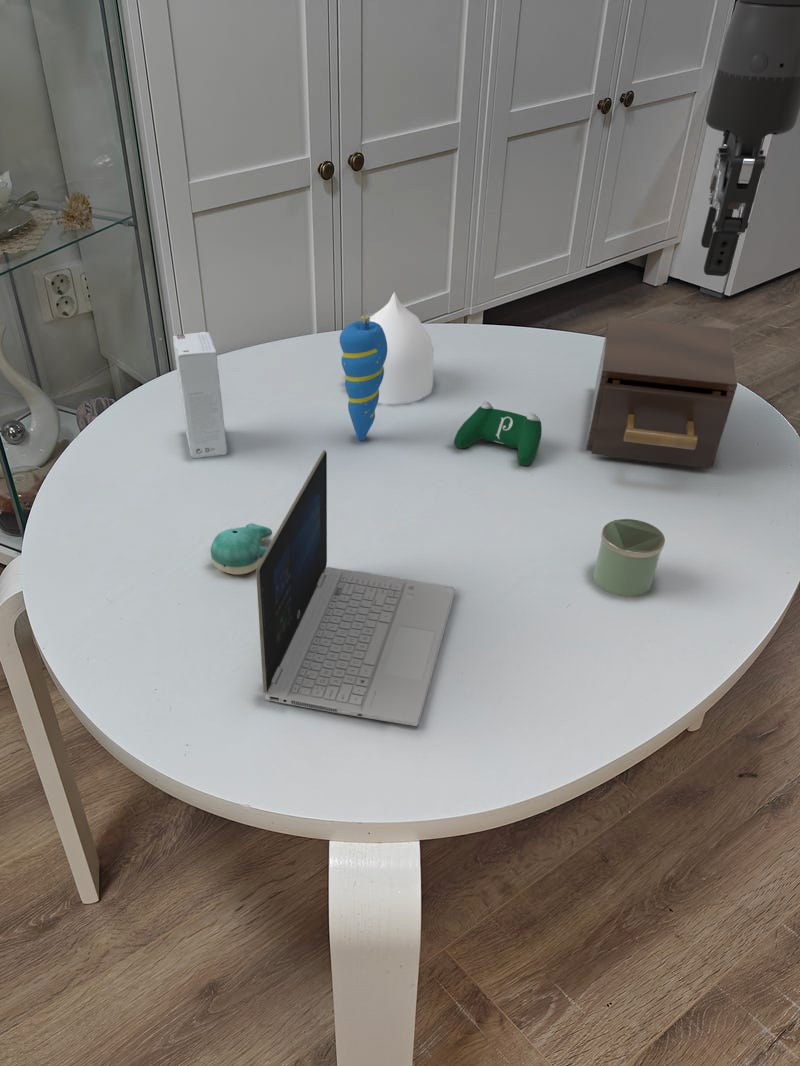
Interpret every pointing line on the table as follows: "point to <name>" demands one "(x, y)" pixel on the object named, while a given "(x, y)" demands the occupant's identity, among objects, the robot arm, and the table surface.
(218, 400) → the cosmetic box
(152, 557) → the table surface
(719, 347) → the cabinet
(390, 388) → the teardrop
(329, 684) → the laptop
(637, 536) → the tin
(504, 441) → the gaming controller
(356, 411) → the ornament
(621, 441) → the drawer
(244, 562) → the whale figurine
